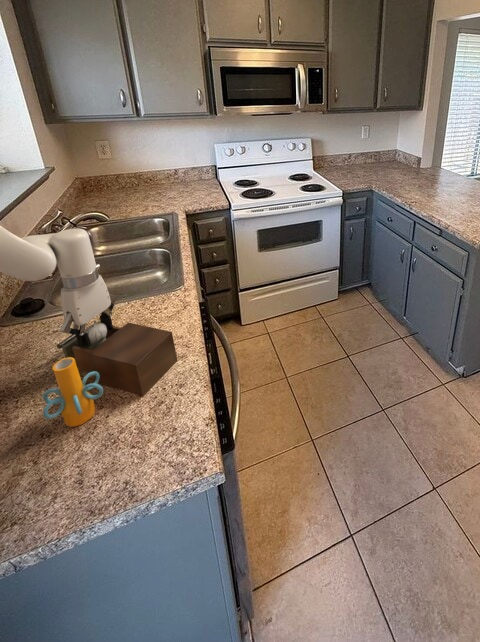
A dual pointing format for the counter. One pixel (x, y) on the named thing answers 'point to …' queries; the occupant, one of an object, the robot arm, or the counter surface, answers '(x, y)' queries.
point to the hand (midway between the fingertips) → (96, 336)
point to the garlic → (96, 332)
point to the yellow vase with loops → (72, 393)
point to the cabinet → (134, 358)
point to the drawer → (82, 350)
